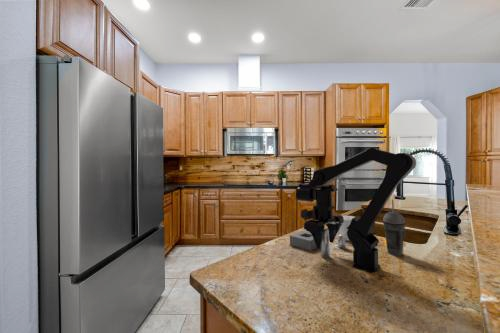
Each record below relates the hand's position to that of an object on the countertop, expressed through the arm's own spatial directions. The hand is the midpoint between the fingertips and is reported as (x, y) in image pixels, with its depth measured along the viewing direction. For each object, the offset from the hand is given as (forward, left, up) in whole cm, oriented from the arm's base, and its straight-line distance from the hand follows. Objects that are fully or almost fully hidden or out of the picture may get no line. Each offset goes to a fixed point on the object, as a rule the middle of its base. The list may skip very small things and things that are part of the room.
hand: (325, 245), depth 84 cm
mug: (+4, -25, -4) cm, 26 cm away
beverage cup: (-17, -20, -4) cm, 27 cm away
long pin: (0, 0, -4) cm, 4 cm away
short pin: (0, -13, -4) cm, 14 cm away
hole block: (+12, -6, -4) cm, 14 cm away
